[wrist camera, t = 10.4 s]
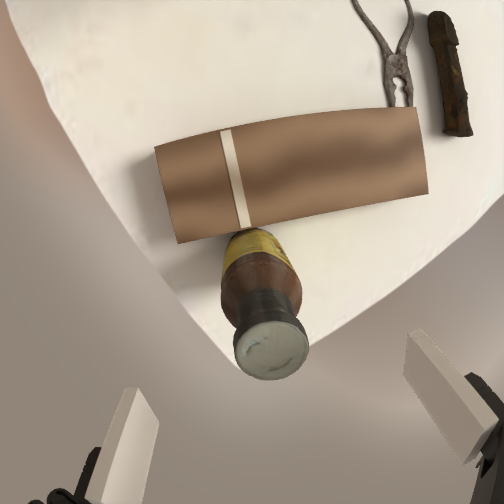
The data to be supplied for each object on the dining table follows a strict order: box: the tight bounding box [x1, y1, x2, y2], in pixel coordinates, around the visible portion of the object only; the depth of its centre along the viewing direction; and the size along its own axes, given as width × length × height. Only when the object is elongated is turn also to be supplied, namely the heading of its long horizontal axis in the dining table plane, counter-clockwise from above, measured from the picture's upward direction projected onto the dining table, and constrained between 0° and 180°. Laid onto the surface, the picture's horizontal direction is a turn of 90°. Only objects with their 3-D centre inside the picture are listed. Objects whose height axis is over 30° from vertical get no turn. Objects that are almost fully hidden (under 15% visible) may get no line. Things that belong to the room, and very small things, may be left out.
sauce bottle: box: [221, 228, 309, 380], centre depth 24 cm, size 6×6×20 cm
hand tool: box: [428, 11, 473, 137], centre depth 26 cm, size 19×4×5 cm, turn 3°
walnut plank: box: [154, 107, 429, 244], centre depth 29 cm, size 10×28×4 cm, turn 102°
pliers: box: [352, 0, 414, 107], centre depth 27 cm, size 10×1×20 cm
